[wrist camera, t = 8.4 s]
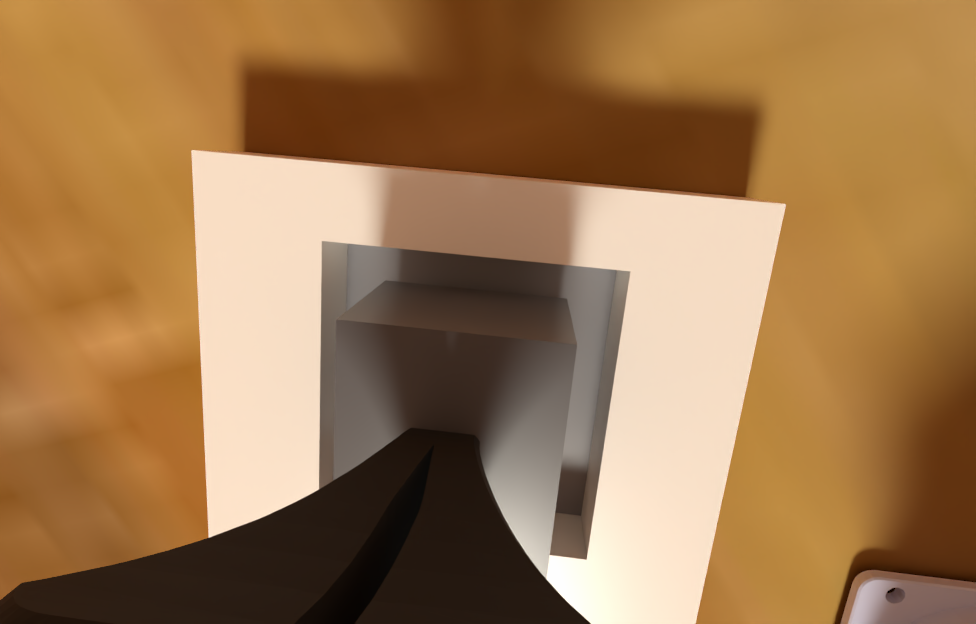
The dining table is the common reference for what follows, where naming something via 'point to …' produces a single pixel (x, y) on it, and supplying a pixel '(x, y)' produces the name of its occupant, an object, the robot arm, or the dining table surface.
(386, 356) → the plug
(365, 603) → the robot arm
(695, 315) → the socket plate
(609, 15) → the dining table surface
